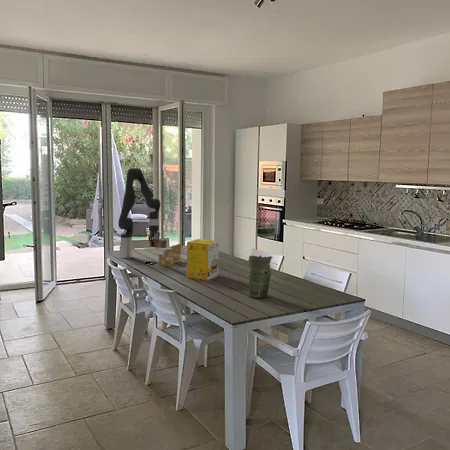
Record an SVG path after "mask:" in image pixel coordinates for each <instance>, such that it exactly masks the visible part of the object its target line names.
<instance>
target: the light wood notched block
mask: <svg viewBox="0 0 450 450" xmlns="http://www.w3.org/2000/svg"><path fill="white" fill-rule="evenodd" d="M157 257H158V265H159V266H164V267H169V266H171V265H174V264H177V263H180V262H181V261H182V243H177V244H174V245H171V246H170V248H164V249H162V254H158V256H157Z"/></svg>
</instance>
